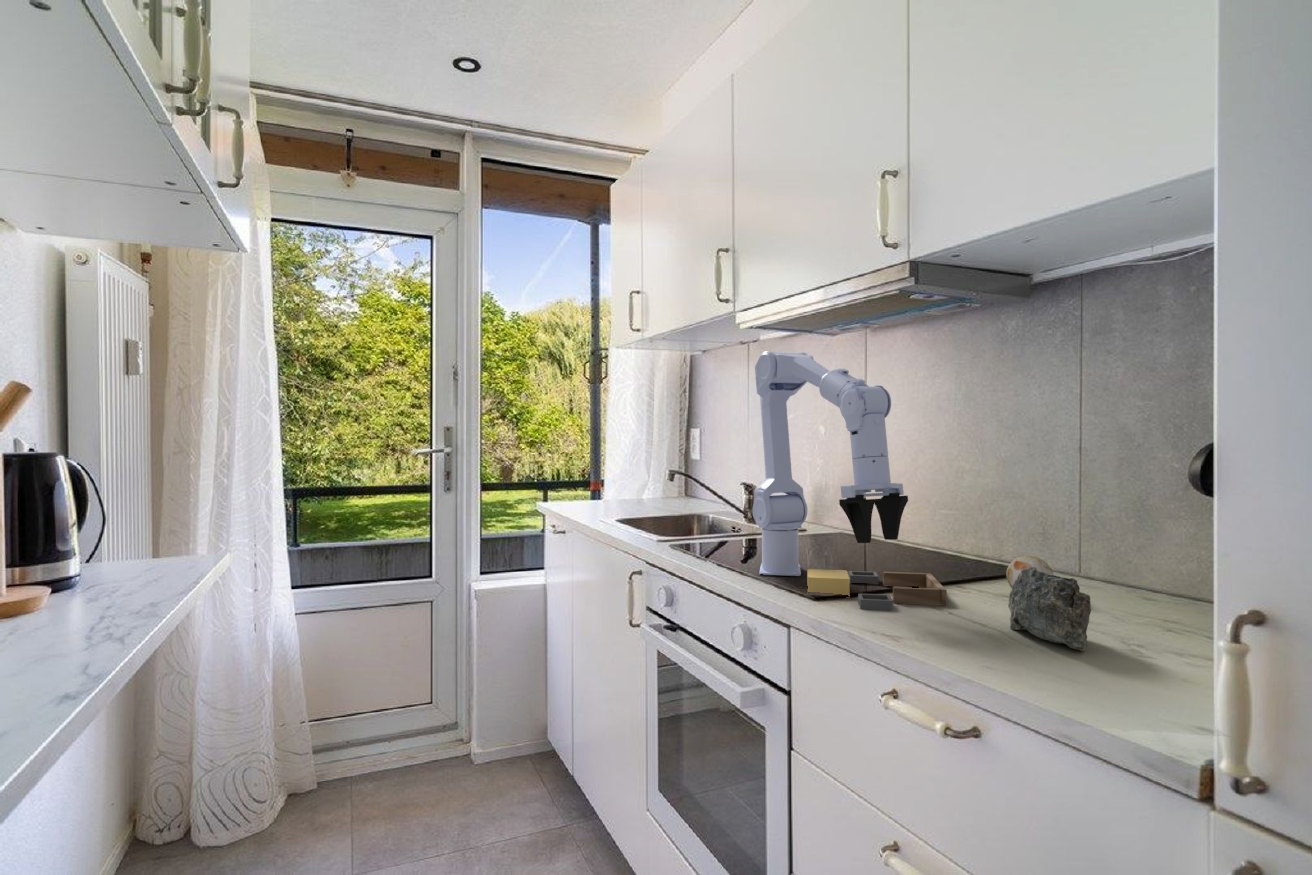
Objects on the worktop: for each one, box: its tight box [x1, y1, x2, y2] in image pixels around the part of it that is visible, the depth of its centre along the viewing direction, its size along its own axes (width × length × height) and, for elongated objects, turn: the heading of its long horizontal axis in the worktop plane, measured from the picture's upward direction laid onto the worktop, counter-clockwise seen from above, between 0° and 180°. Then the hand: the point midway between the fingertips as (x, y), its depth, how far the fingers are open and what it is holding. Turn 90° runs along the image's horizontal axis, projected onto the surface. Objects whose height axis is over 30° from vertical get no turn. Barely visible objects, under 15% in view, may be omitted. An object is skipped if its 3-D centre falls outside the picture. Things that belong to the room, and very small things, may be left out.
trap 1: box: [848, 570, 879, 584], centre depth 130 cm, size 4×5×2 cm
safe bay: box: [882, 571, 948, 606], centre depth 120 cm, size 13×8×2 cm, turn 169°
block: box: [806, 568, 851, 598], centre depth 122 cm, size 7×7×4 cm
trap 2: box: [857, 593, 894, 611], centre depth 112 cm, size 4×5×2 cm
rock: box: [1007, 567, 1092, 652], centre depth 95 cm, size 14×10×10 cm
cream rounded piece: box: [1005, 555, 1055, 589], centre depth 115 cm, size 8×10×10 cm
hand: (877, 541), depth 112 cm, fingers open, 7 cm apart
